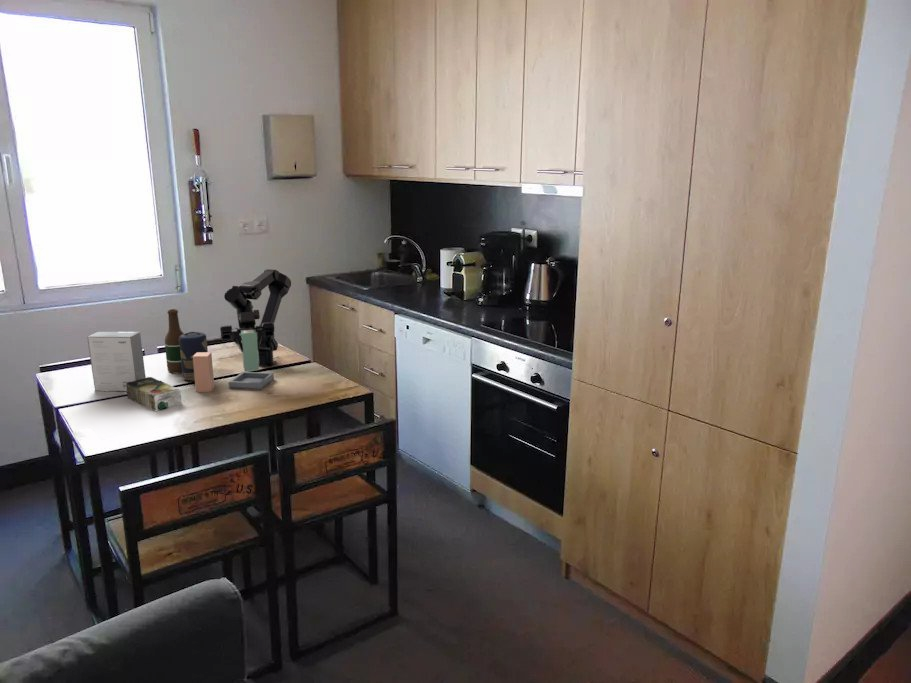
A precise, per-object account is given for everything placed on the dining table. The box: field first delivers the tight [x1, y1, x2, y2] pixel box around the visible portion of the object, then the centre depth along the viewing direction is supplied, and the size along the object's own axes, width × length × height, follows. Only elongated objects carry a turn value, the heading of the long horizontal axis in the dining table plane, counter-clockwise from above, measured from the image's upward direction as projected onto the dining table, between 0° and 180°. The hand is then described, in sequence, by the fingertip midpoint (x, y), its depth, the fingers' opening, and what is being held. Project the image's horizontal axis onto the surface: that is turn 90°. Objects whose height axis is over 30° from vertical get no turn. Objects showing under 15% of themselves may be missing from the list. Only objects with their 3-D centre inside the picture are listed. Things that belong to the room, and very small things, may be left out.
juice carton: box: [126, 376, 182, 412], centre depth 229 cm, size 20×10×6 cm, turn 52°
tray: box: [228, 371, 275, 391], centre depth 247 cm, size 12×12×2 cm
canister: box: [179, 331, 209, 382], centre depth 250 cm, size 10×10×18 cm
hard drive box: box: [87, 331, 147, 392], centre depth 239 cm, size 16×8×20 cm, turn 89°
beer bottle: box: [164, 308, 185, 374], centre depth 259 cm, size 8×8×24 cm
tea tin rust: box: [193, 351, 215, 393], centre depth 240 cm, size 5×5×13 cm
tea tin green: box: [240, 329, 260, 372], centre depth 244 cm, size 5×5×14 cm
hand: (250, 351), depth 243 cm, fingers closed on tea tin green, 5 cm apart
